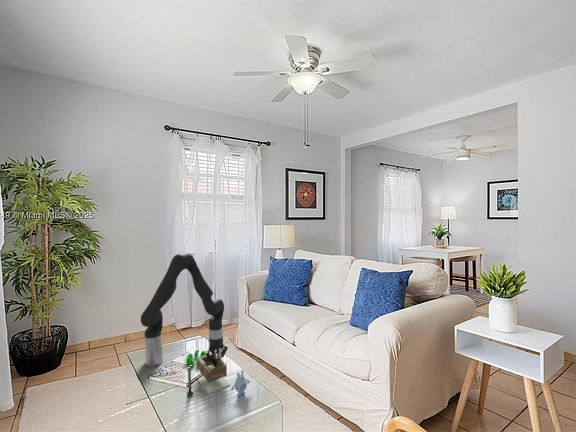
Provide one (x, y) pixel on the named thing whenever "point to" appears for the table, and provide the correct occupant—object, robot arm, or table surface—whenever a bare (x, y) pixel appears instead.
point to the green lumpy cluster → (190, 357)
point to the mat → (213, 384)
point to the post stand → (189, 383)
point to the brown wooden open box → (214, 372)
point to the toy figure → (240, 384)
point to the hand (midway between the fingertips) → (216, 365)
